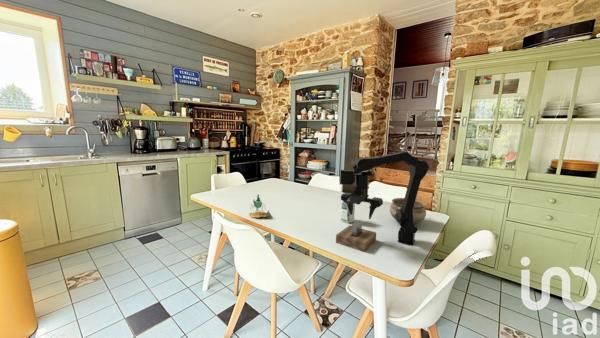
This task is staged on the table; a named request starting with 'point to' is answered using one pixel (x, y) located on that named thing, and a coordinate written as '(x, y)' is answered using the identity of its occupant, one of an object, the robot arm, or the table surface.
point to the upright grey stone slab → (356, 229)
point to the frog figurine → (258, 214)
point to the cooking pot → (418, 209)
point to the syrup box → (347, 213)
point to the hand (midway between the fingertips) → (360, 216)
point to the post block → (356, 239)
